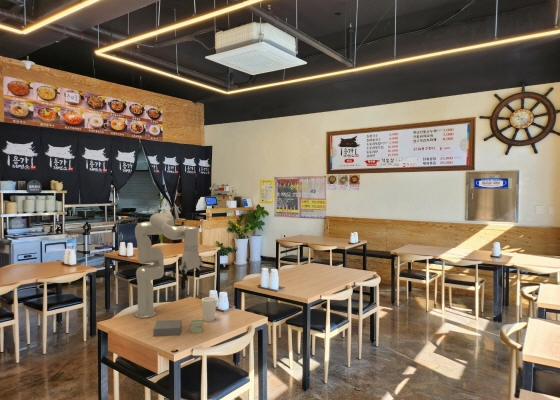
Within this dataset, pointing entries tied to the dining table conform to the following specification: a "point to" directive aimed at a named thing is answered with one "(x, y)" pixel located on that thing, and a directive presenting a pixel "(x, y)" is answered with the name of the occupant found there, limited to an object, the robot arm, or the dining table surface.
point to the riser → (167, 327)
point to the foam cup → (209, 308)
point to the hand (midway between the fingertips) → (191, 278)
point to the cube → (196, 326)
